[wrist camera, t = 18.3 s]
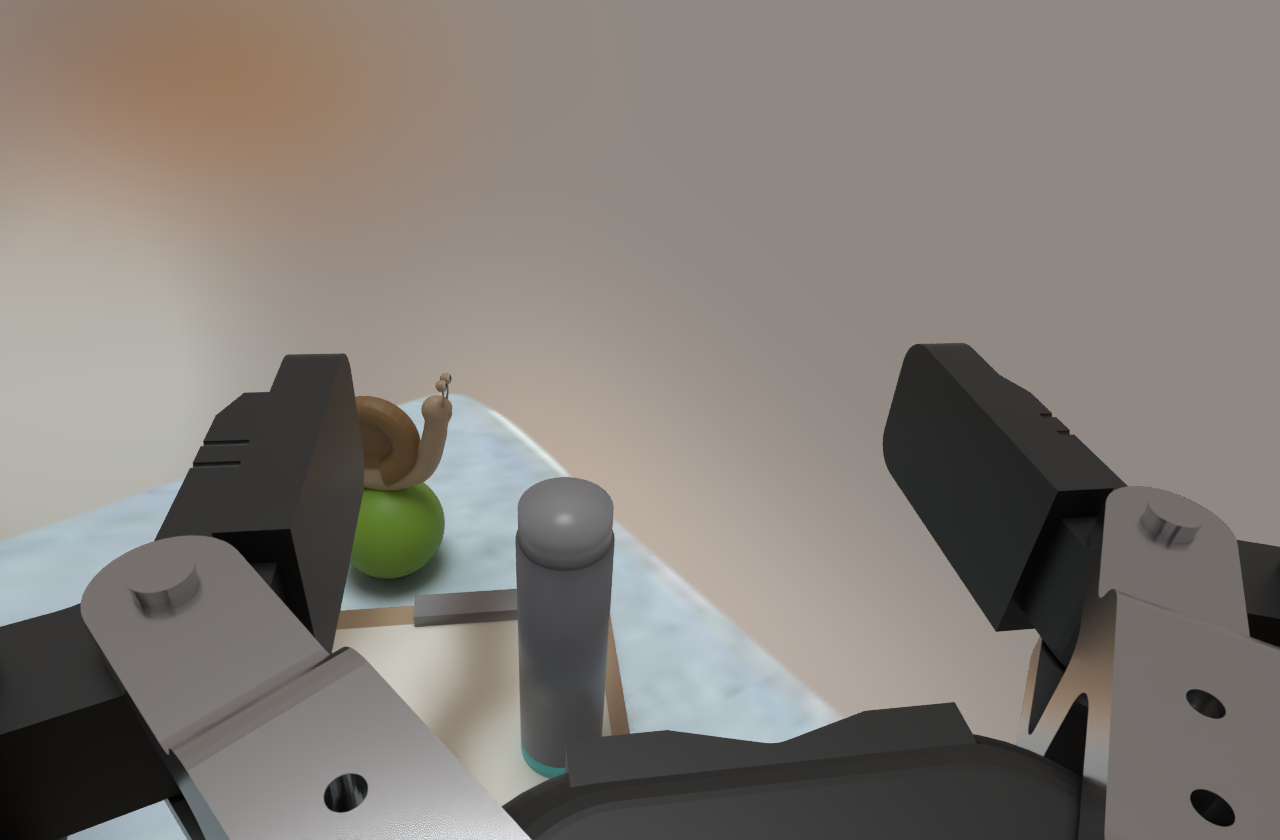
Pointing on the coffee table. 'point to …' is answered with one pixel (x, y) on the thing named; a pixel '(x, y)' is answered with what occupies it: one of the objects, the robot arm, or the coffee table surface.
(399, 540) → the snail figurine
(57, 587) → the coffee table surface
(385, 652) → the clipboard
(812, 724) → the coffee table surface
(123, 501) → the coffee table surface
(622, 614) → the coffee table surface
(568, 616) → the cylinder
